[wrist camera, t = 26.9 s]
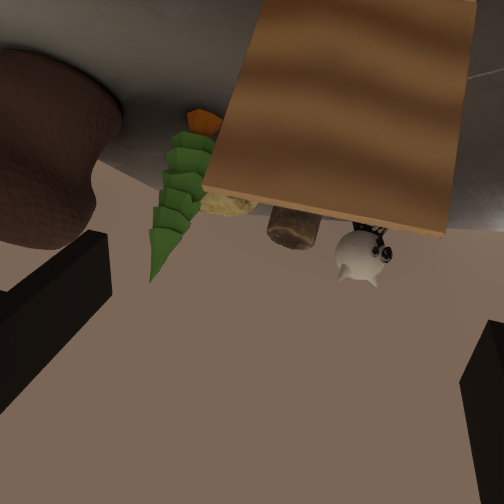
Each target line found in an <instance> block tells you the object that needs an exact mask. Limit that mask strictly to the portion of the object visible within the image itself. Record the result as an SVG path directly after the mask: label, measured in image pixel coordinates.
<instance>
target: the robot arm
mask: <svg viewBox="0 0 504 504" xmlns="http://www.w3.org/2000/svg"><path fill="white" fill-rule="evenodd" d="M111 296H112V283H111V272H110V260H109V249H108V237H107V234H106V233H102V232H97V231H92V230H87V231H86V232H84V233H83V234H82V235H81V236H80V237H78V238H77V239H75V240H74V241H73V242H71V243H70V244H69V245H68V246H66V247H65V248H64V249H62V250H61V251H60V252H58V253H57V254H56V255H54V256H53V257H52V258H51V259H49V260H48V261H47V262H46V263H44V264H43V265H42V266H40V267H39V268H38V269H37V270H35V271H34V272H32V273H31V274H30V275H28V276H27V277H26V278H25V279H23V280H22V281H21V282H19V283H18V284H17V285H15V286H14V287H13V288H11V289H10V290H9V291H8V292H5V291H1V290H0V414H1V413H2V412H3V411H4V410H5V409H6V408H7V407H8V406H9V405H10V404H11V403H12V401H13V400H14V399H15V398H16V397H17V396H18V395H19V394H20V393H21V392H22V391H23V389H25V387H27V385H28V384H29V383H30V382H31V381H32V380H33V379H34V378H35V377H36V376H37V375H38V374H39V373H40V372H41V370H42V369H43V368H44V367H45V366H46V365H47V364H48V363H49V362H50V361H51V360H52V359H53V357H55V356H56V354H57V353H58V352H59V351H60V350H61V349H62V348H63V347H64V346H65V345H66V344H67V343H68V342H69V341H70V340H71V338H72V337H73V336H74V335H75V334H76V333H77V332H78V331H79V330H80V329H81V328H82V327H83V326H84V325H85V324H86V322H87V321H88V320H89V319H90V318H91V317H92V316H93V315H94V314H95V313H96V312H97V311H98V310H99V309H100V308H101V306H102V305H103V304H104V303H105V302H106V301H107V300H108V299H109V298H110V297H111ZM459 384H460V389H461V395H462V400H463V406H464V411H465V417H466V422H467V428H468V434H469V439H470V445H471V451H472V456H473V462H474V468H475V473H476V479H477V484H478V490H479V495H480V501H481V504H504V323H501V322H497V321H492V320H488V322H487V324H486V326H485V328H484V330H483V333H482V335H481V337H480V339H479V341H478V343H477V345H476V347H475V349H474V352H473V354H472V356H471V358H470V360H469V362H468V364H467V366H466V369H465V371H464V373H463V375H462V377H461V379H460V381H459Z"/></svg>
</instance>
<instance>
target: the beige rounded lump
mask: <svg viewBox="0 0 504 504" xmlns="http://www.w3.org/2000/svg"><path fill="white" fill-rule="evenodd" d="M200 203H202V204H201V207H200V209H201V210H202V211H203V212H209V213H210V214H211V215H213V214H220V215H222V216H227V217H229V216H234V215H239V214H243V215H246V214H247V213H249V212H251V211H253V210H254V209H255V208H256V206H257V205H258V204H259V202H255V201H250V200H245V199H240V198H235V197H230V196H225V195H220V194H215V193H210V192H208V193H207V194H206V195H205V196H204V197H203V198H202V200H201V201H200Z"/></svg>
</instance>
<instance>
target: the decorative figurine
mask: <svg viewBox="0 0 504 504" xmlns="http://www.w3.org/2000/svg"><path fill="white" fill-rule="evenodd" d="M352 223H353V227H354V231H352V232H350V233H348V234H346V235H345V236H344V237H343V238H342V239H341V240H340V242H339V243H338V245H337V247H336V251H335V259H336V263H337V265H338V267H339V269H340V273H339V276H338V280H337V282H338V281H340V280H342V279H343V278H345V277H346V276H348V277H350V278H352V279H356V280H366V279H367V280H368V281H370V282H371V283H372V284H373V285H374V286H375V287H376V288H378V279H377V274H378V273H379V272H380V271H381V270H382V269H383V267H384V265H385V263H388V262H389V261H390V260H391V259H392V256H391V253H392V251H391V248H390V247H386V248H385V244H384V241H383V238H382V236H383V234H384V233H385V232H386V230H387V229H388V228H384V227H379V226H374V225H369V224H364V223H359V222H354V221H352ZM389 252H390V253H389ZM386 253H387V254H386ZM389 256H390V257H389ZM388 257H389V258H390V260H389V261H386V260H388V259H389V258H388Z"/></svg>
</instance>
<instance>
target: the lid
mask: <svg viewBox="0 0 504 504" xmlns="http://www.w3.org/2000/svg"><path fill="white" fill-rule="evenodd" d="M476 10H477V2H469V1H460V0H264V3H263V6H262V9H261V12H260V15H259V18H258V21H257V24H256V26H255V29H254V32H253V35H252V38H251V41H250V44H249V47H248V50H247V53H246V56H245V59H244V62H243V65H242V67H241V70H240V73H239V76H238V79H237V82H236V85H235V88H234V91H233V94H232V97H231V100H230V103H229V105H228V108H227V111H226V114H225V117H224V120H223V123H222V126H221V129H220V132H219V135H218V138H217V141H216V143H215V146H214V149H213V152H212V155H211V158H210V161H209V164H208V167H207V170H206V173H205V176H204V179H203V181H202V184H201V185H202V188H203V190H204V191H205V192H210V193H215V194H220V195H225V196H230V197H235V198H240V199H245V200H250V201H255V202H260V203H265V204H270V205H275V206H280V207H285V208H290V209H295V210H300V211H305V212H310V213H315V214H320V215H325V216H330V217H335V218H339V219H344V220H349V221H354V222H359V223H364V224H369V225H374V226H379V227H384V228H390V229H394V230H399V231H405V232H409V233H414V234H419V235H424V236H429V237H434V238H439V239H441V238H442V237H443V236H444V234H445V233H446V226H447V219H448V212H449V205H450V198H451V190H452V183H453V176H454V169H455V162H456V154H457V147H458V140H459V133H460V126H461V118H462V111H463V104H464V97H465V90H466V82H467V75H468V68H469V61H470V54H471V46H472V39H473V32H474V25H475V18H476Z"/></svg>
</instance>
